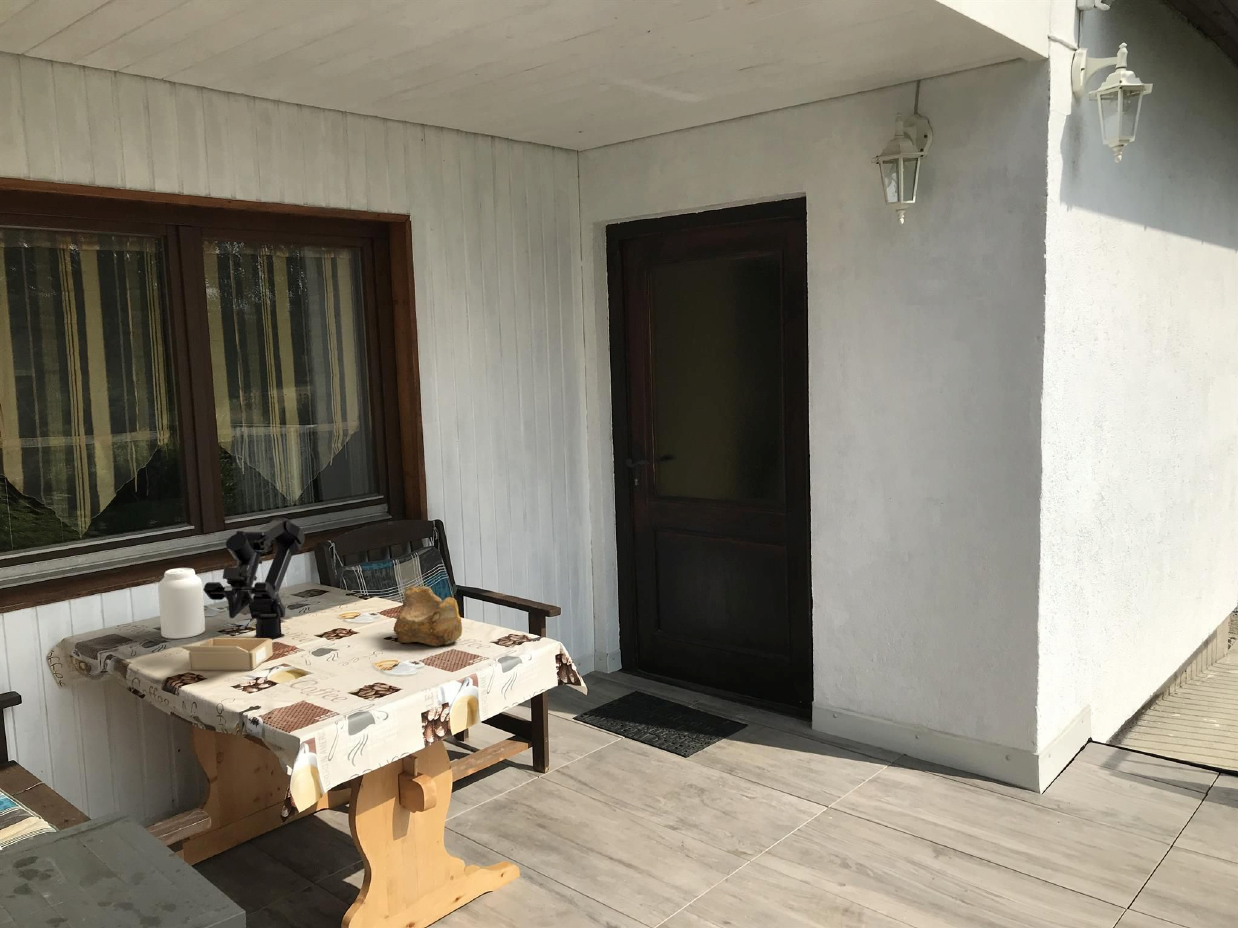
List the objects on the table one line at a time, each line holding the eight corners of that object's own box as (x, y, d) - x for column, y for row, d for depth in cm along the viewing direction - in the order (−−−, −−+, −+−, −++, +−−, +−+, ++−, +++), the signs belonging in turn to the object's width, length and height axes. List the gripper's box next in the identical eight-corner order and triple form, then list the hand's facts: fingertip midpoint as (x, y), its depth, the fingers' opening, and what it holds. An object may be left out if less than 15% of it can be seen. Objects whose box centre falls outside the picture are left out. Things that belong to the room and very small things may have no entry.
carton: (212, 654, 282) (211, 637, 282) (274, 655, 281) (273, 638, 280) (189, 669, 269) (188, 651, 268) (253, 670, 268) (252, 652, 267)
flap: (191, 650, 268) (179, 645, 262) (248, 651, 267) (237, 645, 260) (191, 651, 268) (179, 646, 261) (247, 652, 267) (236, 647, 260)
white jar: (174, 641, 295) (170, 576, 293) (153, 635, 303) (148, 571, 301) (213, 632, 305) (209, 568, 303) (191, 625, 313) (187, 563, 310)
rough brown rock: (377, 641, 296) (372, 594, 293) (423, 625, 307) (419, 580, 304) (421, 660, 280) (417, 610, 277) (468, 642, 291) (464, 595, 288)
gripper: (204, 554, 278) (187, 603, 269) (268, 554, 277) (253, 603, 267) (219, 574, 287) (203, 622, 277) (281, 575, 286) (267, 623, 276)
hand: (231, 617), depth 274 cm, fingers closed
